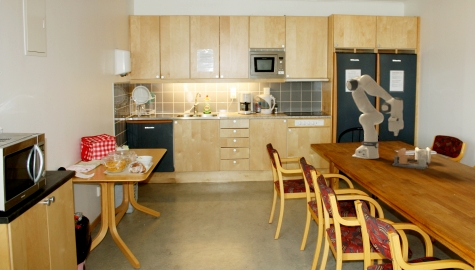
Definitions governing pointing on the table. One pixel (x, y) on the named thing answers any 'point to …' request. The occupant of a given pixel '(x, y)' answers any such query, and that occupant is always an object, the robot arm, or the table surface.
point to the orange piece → (403, 156)
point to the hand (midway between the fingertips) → (396, 135)
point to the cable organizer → (423, 154)
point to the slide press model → (420, 162)
